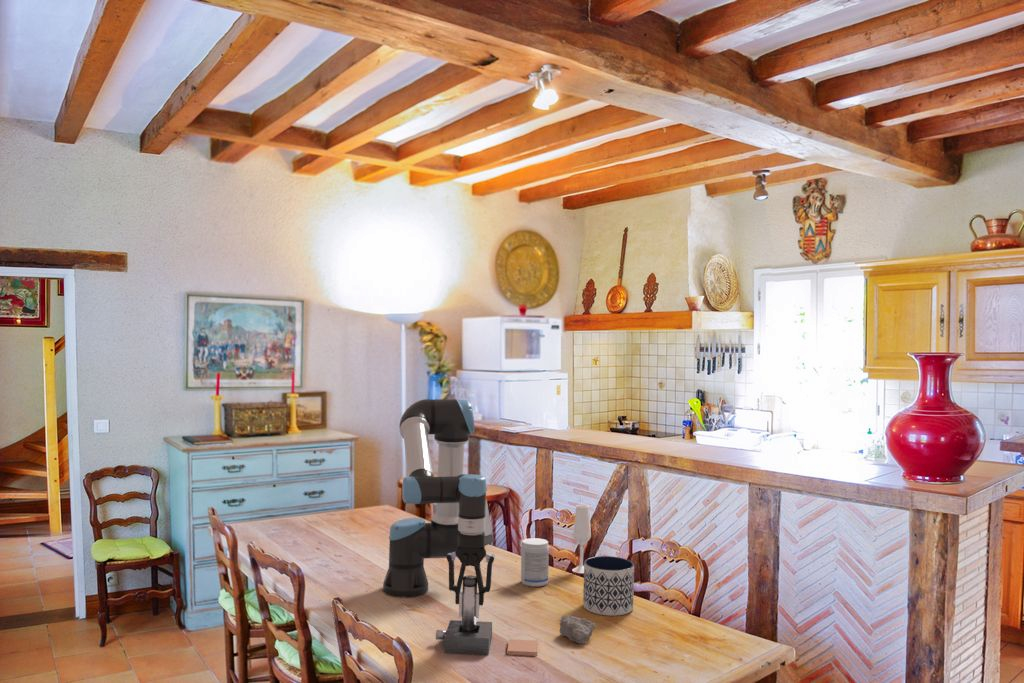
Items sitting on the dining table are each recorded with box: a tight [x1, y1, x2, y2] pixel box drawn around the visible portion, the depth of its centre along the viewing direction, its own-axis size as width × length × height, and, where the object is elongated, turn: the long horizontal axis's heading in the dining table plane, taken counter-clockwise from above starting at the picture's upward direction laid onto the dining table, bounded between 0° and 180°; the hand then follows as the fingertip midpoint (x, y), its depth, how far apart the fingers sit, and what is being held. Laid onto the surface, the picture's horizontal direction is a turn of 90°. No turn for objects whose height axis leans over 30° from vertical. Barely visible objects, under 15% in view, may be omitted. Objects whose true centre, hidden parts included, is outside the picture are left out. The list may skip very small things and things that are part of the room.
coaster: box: [506, 638, 539, 657], centre depth 208 cm, size 8×8×1 cm
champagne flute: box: [571, 504, 592, 574], centre depth 282 cm, size 7×7×24 cm
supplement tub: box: [520, 537, 550, 588], centre depth 266 cm, size 10×10×15 cm
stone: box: [559, 614, 596, 645], centre depth 217 cm, size 10×8×6 cm
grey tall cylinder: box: [461, 574, 478, 631], centre depth 210 cm, size 4×4×14 cm
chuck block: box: [435, 619, 493, 656], centre depth 210 cm, size 15×12×4 cm
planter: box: [582, 555, 635, 617], centre depth 243 cm, size 16×16×14 cm
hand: (469, 615), depth 211 cm, fingers closed on grey tall cylinder, 4 cm apart
